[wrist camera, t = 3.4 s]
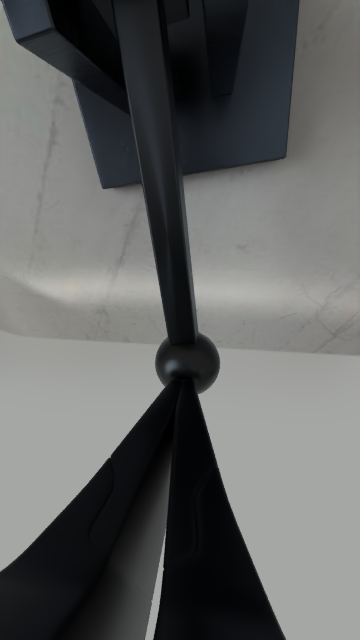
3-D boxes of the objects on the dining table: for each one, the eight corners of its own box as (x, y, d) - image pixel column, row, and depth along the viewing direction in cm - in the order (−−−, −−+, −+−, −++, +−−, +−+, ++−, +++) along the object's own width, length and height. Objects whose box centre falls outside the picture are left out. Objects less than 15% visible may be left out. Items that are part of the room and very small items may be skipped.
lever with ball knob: (221, 367, 11) (221, 412, 9) (167, 367, 12) (154, 409, 10) (191, -161, 5) (164, -503, 3) (80, -109, 6) (-29, -355, 3)
